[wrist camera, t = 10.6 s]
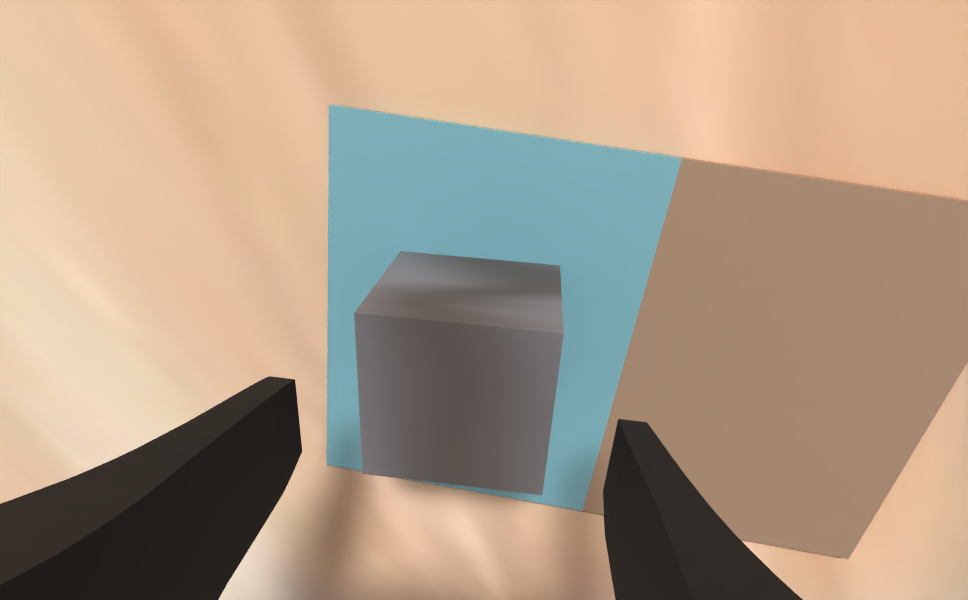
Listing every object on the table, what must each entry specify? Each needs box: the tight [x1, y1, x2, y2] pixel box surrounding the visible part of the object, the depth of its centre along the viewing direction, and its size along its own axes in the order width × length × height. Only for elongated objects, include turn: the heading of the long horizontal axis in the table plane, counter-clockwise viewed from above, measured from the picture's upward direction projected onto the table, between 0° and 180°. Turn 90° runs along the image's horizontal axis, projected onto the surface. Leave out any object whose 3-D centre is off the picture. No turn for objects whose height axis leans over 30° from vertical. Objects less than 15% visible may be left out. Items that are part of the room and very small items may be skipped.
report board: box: [327, 105, 968, 559], centre depth 16 cm, size 18×12×1 cm, turn 83°
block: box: [354, 251, 564, 495], centre depth 14 cm, size 4×4×4 cm
